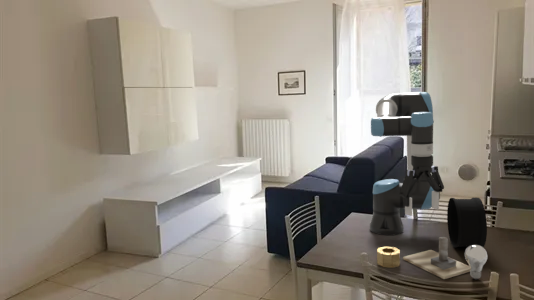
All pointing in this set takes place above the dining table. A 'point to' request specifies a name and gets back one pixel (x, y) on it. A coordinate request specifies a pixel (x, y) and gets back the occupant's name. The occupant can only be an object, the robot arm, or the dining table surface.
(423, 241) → the dining table surface
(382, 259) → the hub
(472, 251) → the light bulb
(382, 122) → the robot arm
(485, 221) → the car wheel rim
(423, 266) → the shaft stand
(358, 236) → the dining table surface
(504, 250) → the dining table surface
